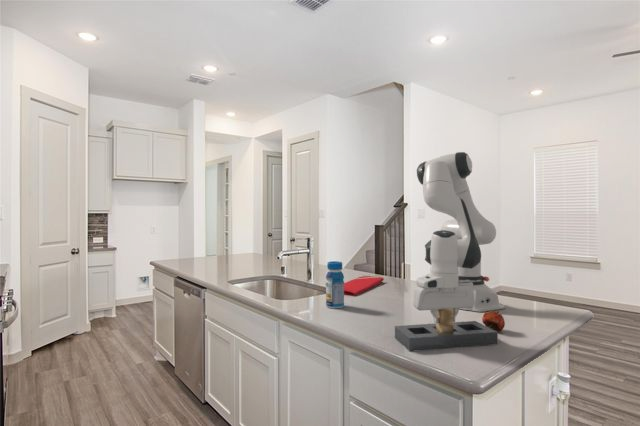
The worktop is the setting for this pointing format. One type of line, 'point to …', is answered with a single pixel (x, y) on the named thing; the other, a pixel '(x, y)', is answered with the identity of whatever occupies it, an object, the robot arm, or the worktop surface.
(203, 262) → the worktop surface
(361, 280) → the dish drying mat
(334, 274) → the beverage bottle
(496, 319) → the pomegranate
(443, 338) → the gray socket block
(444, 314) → the oak peg
